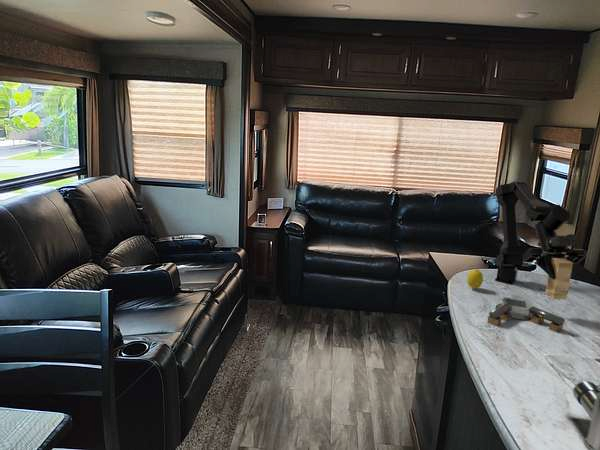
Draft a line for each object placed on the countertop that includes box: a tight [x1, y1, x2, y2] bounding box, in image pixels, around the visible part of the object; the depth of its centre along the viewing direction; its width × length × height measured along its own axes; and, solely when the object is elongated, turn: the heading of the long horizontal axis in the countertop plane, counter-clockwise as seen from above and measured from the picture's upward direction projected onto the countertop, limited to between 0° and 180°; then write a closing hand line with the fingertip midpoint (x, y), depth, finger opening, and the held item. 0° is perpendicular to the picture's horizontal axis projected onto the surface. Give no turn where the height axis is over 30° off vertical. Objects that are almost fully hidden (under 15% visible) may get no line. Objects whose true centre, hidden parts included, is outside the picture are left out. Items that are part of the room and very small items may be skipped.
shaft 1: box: [486, 304, 512, 327], centre depth 143 cm, size 10×3×4 cm, turn 130°
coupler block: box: [545, 258, 574, 300], centre depth 146 cm, size 5×5×12 cm
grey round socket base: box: [494, 297, 533, 321], centre depth 150 cm, size 12×12×3 cm
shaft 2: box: [529, 305, 565, 333], centre depth 141 cm, size 10×3×4 cm, turn 30°
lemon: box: [466, 268, 484, 290], centre depth 169 cm, size 6×6×8 cm
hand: (561, 279), depth 144 cm, fingers closed on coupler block, 4 cm apart
